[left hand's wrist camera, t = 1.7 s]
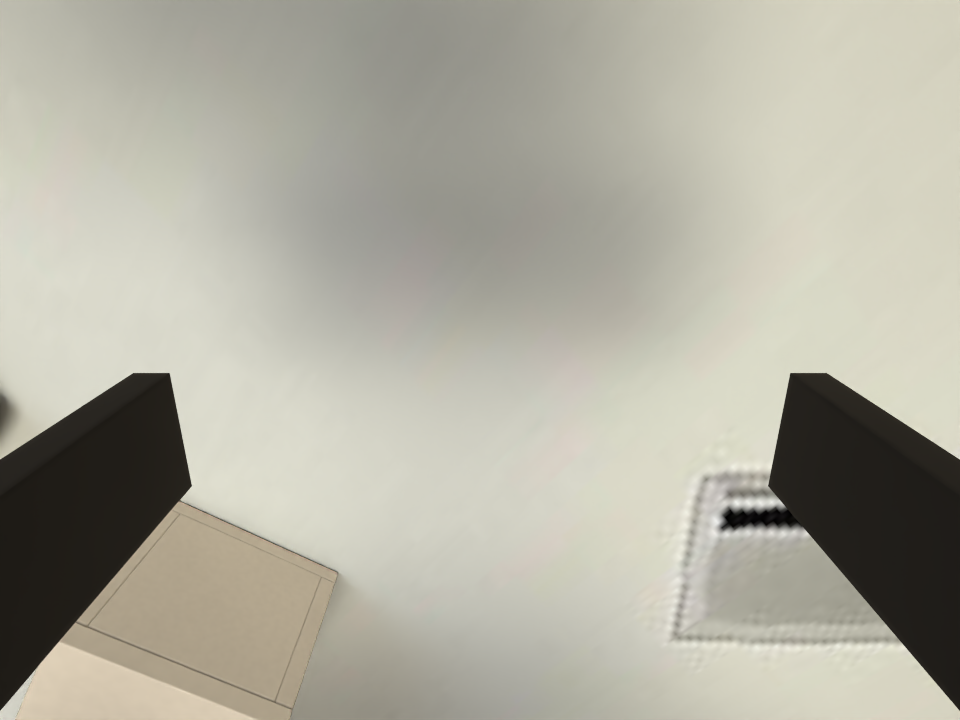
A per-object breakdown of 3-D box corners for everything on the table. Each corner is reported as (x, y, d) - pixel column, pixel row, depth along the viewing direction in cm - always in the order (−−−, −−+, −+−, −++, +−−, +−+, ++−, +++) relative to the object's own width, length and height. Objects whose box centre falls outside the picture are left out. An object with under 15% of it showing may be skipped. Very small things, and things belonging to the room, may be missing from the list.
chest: (250, 717, 38) (186, 875, 30) (98, 657, 37) (-15, 807, 28) (338, 572, 34) (293, 708, 26) (173, 497, 33) (67, 617, 24)
